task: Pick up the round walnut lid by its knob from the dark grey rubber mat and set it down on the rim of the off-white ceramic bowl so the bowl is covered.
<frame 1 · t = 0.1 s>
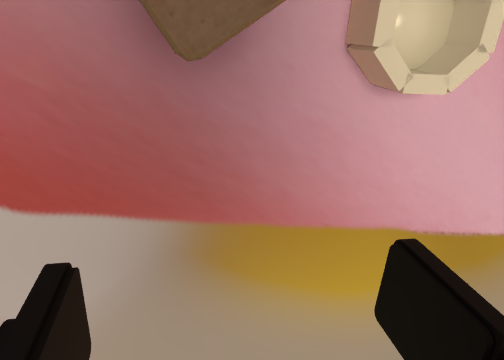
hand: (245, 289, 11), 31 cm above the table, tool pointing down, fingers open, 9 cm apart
bowl: (406, 22, 40), on the table
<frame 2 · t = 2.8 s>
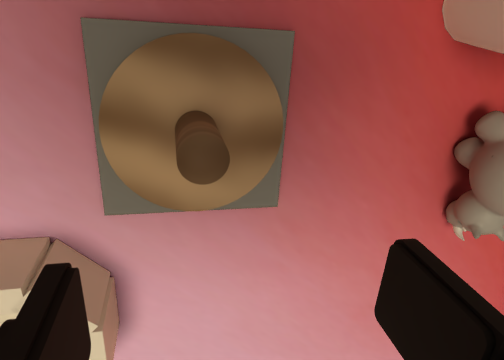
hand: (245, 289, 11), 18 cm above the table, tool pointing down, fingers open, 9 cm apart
foam cup: (476, 0, 28), on the table
mat: (194, 125, 27), on the table
bowl: (29, 309, 30), on the table
lid: (195, 127, 26), point 1 cm above the table, touching mat
hippopotamus figurine: (464, 168, 34), on the table
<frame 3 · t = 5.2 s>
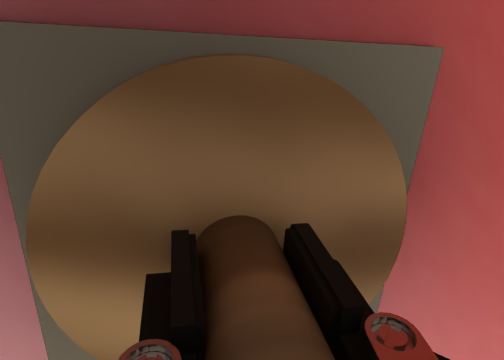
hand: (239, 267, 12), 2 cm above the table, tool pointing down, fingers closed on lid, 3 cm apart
mat: (229, 229, 14), on the table
lid: (231, 237, 13), point 1 cm above the table, touching gripper, mat
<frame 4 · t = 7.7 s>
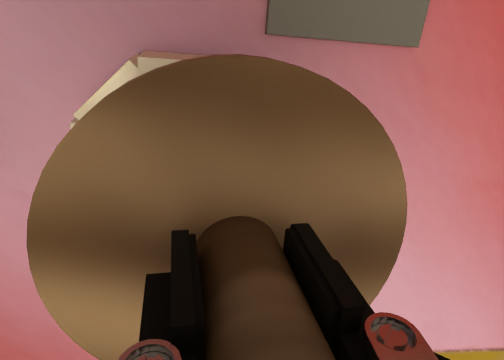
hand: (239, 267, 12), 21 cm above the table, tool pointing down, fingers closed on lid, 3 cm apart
bowl: (178, 137, 31), on the table
lid: (232, 238, 13), point 19 cm above the table, touching gripper
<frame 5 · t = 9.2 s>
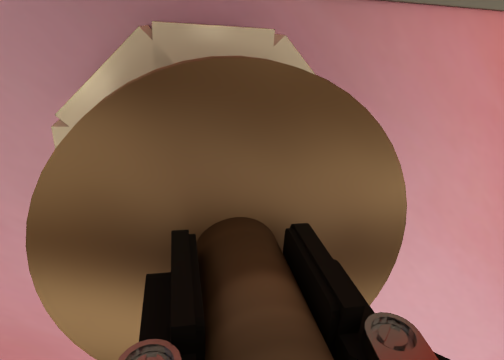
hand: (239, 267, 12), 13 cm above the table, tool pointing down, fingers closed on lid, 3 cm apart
bowl: (203, 141, 23), on the table
lid: (231, 239, 13), point 11 cm above the table, touching gripper
when the fingers open (9 cm above the table, at t = 10.4 s): lid drops 1 cm, resting on bowl.
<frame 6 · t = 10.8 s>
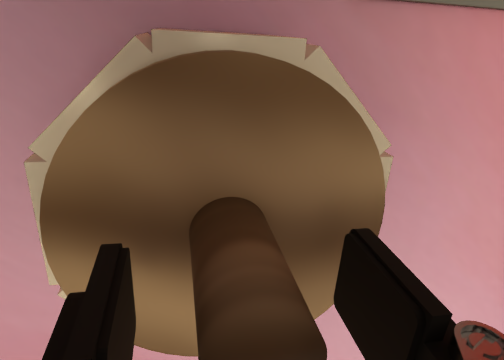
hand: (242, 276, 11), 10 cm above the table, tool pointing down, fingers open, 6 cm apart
bowl: (212, 166, 20), on the table
lid: (225, 219, 14), point 6 cm above the table, touching bowl
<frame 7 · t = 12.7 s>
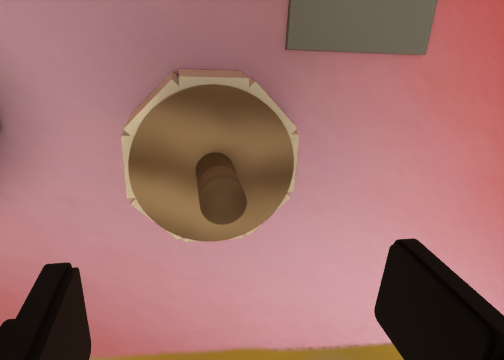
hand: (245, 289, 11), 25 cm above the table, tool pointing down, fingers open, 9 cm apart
bowl: (208, 144, 34), on the table
lid: (213, 166, 29), point 6 cm above the table, touching bowl
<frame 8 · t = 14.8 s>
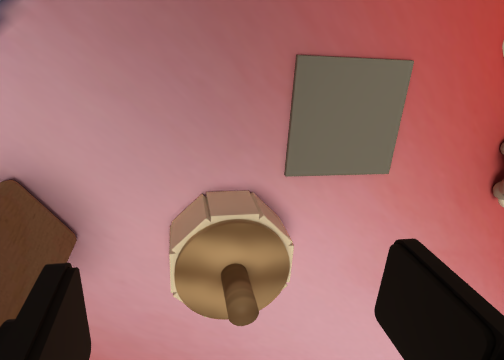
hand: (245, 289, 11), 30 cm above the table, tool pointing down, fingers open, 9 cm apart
mat: (345, 119, 42), on the table
wooden block: (14, 229, 40), on the table
bowl: (226, 240, 46), on the table
lid: (232, 268, 40), point 6 cm above the table, touching bowl
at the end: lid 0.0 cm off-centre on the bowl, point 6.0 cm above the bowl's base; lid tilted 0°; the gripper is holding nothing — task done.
